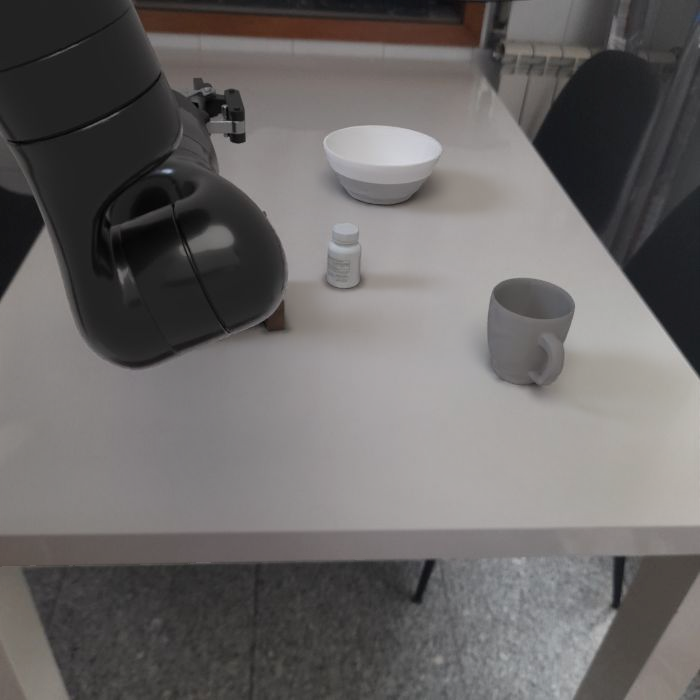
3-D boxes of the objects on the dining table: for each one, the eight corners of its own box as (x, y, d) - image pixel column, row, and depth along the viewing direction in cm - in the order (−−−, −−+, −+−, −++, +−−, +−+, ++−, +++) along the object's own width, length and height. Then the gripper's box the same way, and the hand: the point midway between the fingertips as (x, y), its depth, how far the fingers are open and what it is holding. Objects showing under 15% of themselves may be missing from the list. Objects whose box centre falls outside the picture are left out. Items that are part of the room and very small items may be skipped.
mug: (466, 351, 84) (479, 279, 78) (535, 344, 86) (553, 274, 80) (507, 417, 75) (524, 341, 69) (584, 408, 76) (607, 333, 71)
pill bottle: (345, 269, 99) (348, 218, 94) (366, 283, 96) (369, 230, 92) (320, 278, 96) (321, 226, 92) (340, 292, 94) (343, 239, 89)
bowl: (303, 179, 125) (303, 132, 120) (399, 165, 132) (403, 120, 128) (355, 224, 111) (358, 173, 106) (459, 205, 118) (466, 157, 114)
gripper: (262, 99, 48) (228, 42, 60) (33, 106, 44) (48, 44, 57) (264, 204, 52) (232, 131, 65) (56, 218, 48) (65, 138, 61)
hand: (146, 90), depth 61 cm, fingers open, 8 cm apart
